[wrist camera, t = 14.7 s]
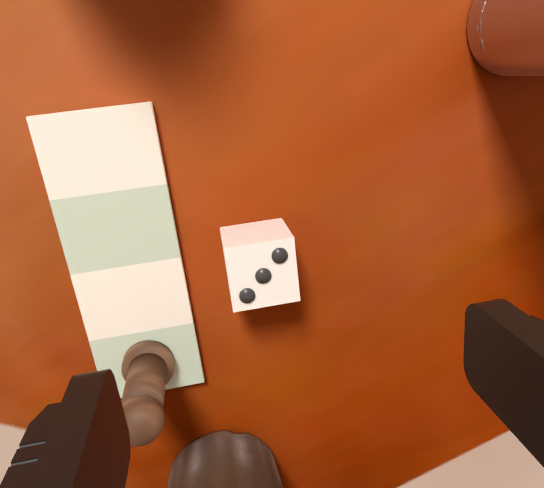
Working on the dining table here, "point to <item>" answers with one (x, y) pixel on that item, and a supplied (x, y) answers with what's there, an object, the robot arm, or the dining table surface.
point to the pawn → (146, 389)
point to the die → (260, 264)
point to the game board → (118, 233)
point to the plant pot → (225, 463)
